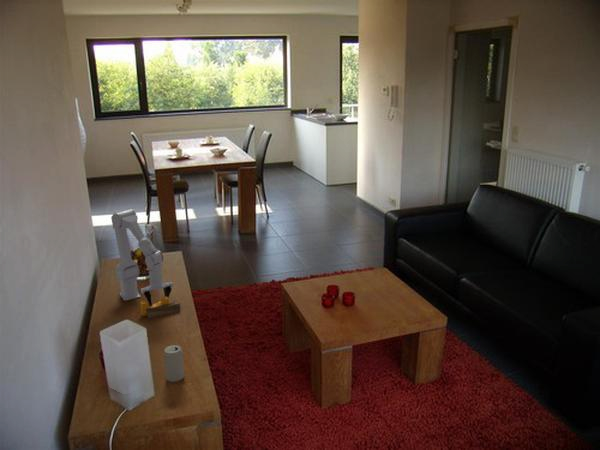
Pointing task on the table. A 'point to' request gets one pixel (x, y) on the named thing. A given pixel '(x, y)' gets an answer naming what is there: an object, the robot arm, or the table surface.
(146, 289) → the robot arm
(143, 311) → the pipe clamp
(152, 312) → the bar
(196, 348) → the table surface
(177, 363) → the beverage can
